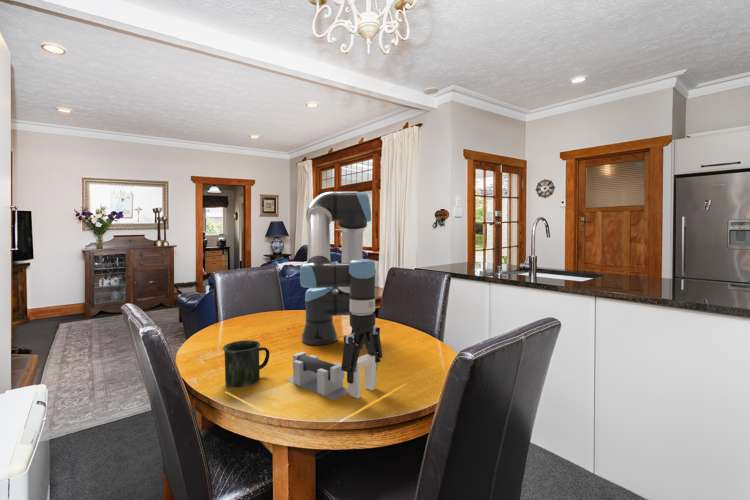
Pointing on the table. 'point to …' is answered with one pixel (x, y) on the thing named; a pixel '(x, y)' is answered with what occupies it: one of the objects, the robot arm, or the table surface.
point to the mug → (243, 363)
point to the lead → (320, 366)
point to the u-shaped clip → (369, 373)
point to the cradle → (317, 381)
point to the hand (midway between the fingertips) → (362, 387)
